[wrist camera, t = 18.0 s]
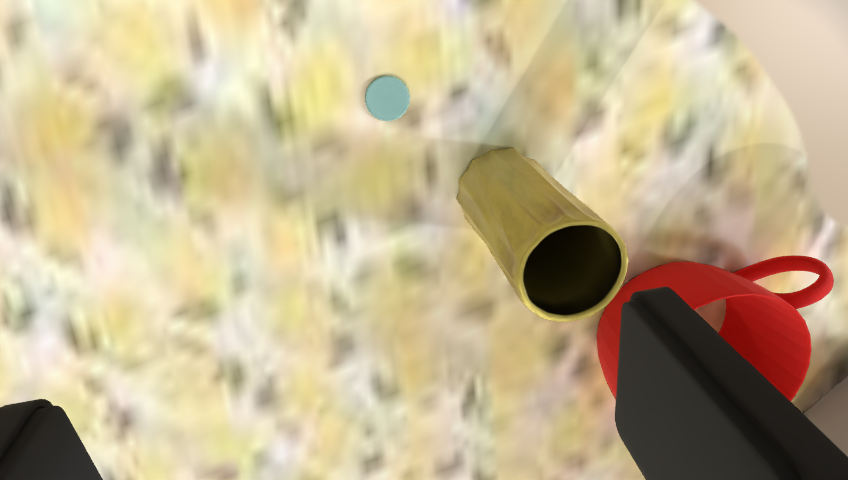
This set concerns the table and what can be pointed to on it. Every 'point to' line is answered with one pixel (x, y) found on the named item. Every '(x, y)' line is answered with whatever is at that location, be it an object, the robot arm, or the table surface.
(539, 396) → the table surface
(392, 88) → the button
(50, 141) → the table surface
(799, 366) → the ceramic cup
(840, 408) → the alarm clock
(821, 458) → the robot arm
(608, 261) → the vase
